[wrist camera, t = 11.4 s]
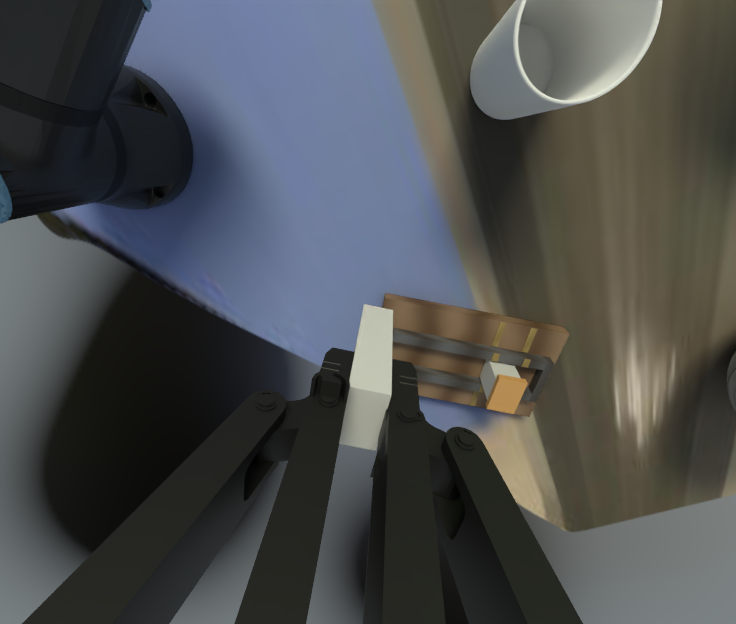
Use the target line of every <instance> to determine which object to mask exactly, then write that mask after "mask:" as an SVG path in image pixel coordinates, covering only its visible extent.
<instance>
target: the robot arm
mask: <svg viewBox="0 0 736 624" xmlns="http://www.w3.org/2000/svg"><path fill="white" fill-rule="evenodd" d="M151 6H152V4H151V1H150V0H0V223H4V222H6V221H8V220H12V219H17V218H22V217H27V216H32V215H37V214H41V213H46V212H51V211H56V210H61V209H65V208H70V207H75V206H80V205H84V204H89V203H94V202H96V203H101V204H106V205H111V206H116V207H121V208H126V209H148V208H152V207H156V206H160V205H163V204H166V203H168V202H170V201H171V200H173V199H174V198H176V197H177V196H178V195H179V194H180V193H181V192H182V190H183V189H184V187H185V186H186V184H187V182H188V179H189V177H190V173H191V169H192V159H193V154H192V144H191V139H190V134H189V131H188V128H187V125H186V123H185V120H184V118H183V116H182V114H181V112H180V110H179V109H178V107H177V105H176V104H175V102H174V101H173V100H172V98H171V97H170V96H169V94H168V93H167V92H166V91H165V90H164V89H163V88H162V87H161V86H160V85H159V84H158V83H157V82H156V81H154V80H153V79H152V78H150V77H149V76H147V75H146V74H144V73H143V72H141V71H139V70H137V69H135V68H132V67H130V66H126V65H124V62H125V60H126V57H127V55H128V53H129V50H130V48H131V45H132V43H133V41H134V38H135V36H136V33H137V31H138V29H139V26H140V24H141V21H142V19H143V17H144V14H145V12H146V11H147V12H150V10H151ZM392 342H393V310H390V309H385V308H380V307H376V306H371V305H366V304H364V308H363V312H362V317H361V322H360V327H359V332H358V337H357V342H356V346H355V351H354V352H352V351H347V350H342V349H337V348H331V349H330V350H329V351H328V352H327V353H326V354H325V357H324V360H323V364H322V367H321V370H320V372H318V373H316V374H315V375H314V376H313V378H312V383H311V390H310V395H309V396H308V397H306V398H305V399H301V400H296V401H286V400H285V398H284V397H283V396H282V395H281V394H279V393H277V392H274V391H270V390H268V391H267V390H266V391H259V392H256V393H254V394H252V395H251V396H249V397H248V398H247V399H246V400H245V401H244V402H243V403H242V404H241V405H240V406H239V407H238V408H237V409H236V410H235V411H234V412H233V413H232V414H231V415H230V416H229V417H228V418H227V419H226V420H225V421H224V422H223V423H222V424H221V425H220V426H219V427H218V428H217V429H216V430H215V431H214V432H213V433H212V434H211V435H210V436H209V437H208V438H207V439H206V440H205V441H204V442H203V443H202V444H201V445H200V446H199V447H198V448H197V449H196V450H195V451H194V452H193V453H192V454H191V455H190V456H189V457H188V458H187V459H186V460H185V461H184V462H183V463H182V464H181V465H180V466H179V467H178V468H177V469H176V470H175V471H174V472H173V473H172V475H170V476H169V477H168V478H167V479H166V480H165V481H164V482H163V483H162V484H161V485H160V486H159V487H158V488H157V489H156V490H155V491H154V492H153V493H152V494H151V496H149V497H148V498H147V499H146V500H145V501H144V503H142V504H141V505H140V506H139V507H138V508H137V509H136V510H135V511H134V512H133V513H132V514H131V515H130V516H129V517H128V518H127V519H126V520H125V521H124V522H123V524H121V525H120V526H119V527H118V528H117V529H116V530H115V531H114V532H113V533H112V534H111V535H110V536H109V537H108V538H107V539H106V540H105V541H104V542H103V543H102V544H101V545H100V546H99V547H98V548H97V549H96V550H95V551H94V552H93V553H92V554H91V555H90V556H89V558H87V559H86V560H85V561H84V562H83V563H82V564H81V565H80V566H79V567H78V568H77V569H76V570H75V571H74V572H73V573H72V574H71V575H70V576H69V578H67V579H66V580H65V582H63V584H61V585H60V586H59V587H58V588H57V589H56V590H55V591H54V593H52V594H51V595H50V596H49V597H48V598H47V599H46V600H45V601H44V602H43V603H42V604H41V605H40V607H38V609H36V610H35V611H34V612H33V613H32V614H31V615H30V616H29V617H28V618H27V619H26V620H25V621H24V622H23V623H22V624H169V623H170V622H171V620H172V619H173V617H174V616H175V614H176V613H177V612H178V610H179V609H180V607H181V605H182V604H183V603H184V601H185V600H186V598H187V597H188V595H189V594H190V592H191V591H192V590H193V588H194V587H195V585H196V584H197V582H198V581H199V579H200V578H201V576H202V575H203V573H204V572H205V571H206V569H207V568H208V566H209V565H210V563H211V562H212V560H213V559H214V557H215V556H216V555H217V553H218V551H219V550H220V549H221V547H222V546H223V544H224V543H225V541H226V540H227V538H228V537H229V536H230V534H231V533H232V531H233V529H234V528H235V527H236V525H237V524H238V522H239V521H240V519H241V518H242V517H243V515H244V514H245V512H246V511H247V509H248V508H249V506H250V505H251V503H252V502H253V501H254V499H255V498H256V496H257V494H258V493H259V492H260V490H261V489H262V487H263V486H264V484H265V483H266V482H267V480H268V479H269V477H270V476H271V474H272V473H273V471H274V470H275V468H276V467H277V465H278V463H279V461H286V460H288V463H287V467H286V470H285V473H284V476H283V479H282V482H281V485H280V488H279V491H278V494H277V497H276V500H275V503H274V506H273V509H272V512H271V515H270V518H269V521H268V525H267V527H266V530H265V533H264V536H263V539H262V542H261V545H260V549H259V551H258V554H257V558H256V560H255V564H254V566H253V569H252V572H251V575H250V579H249V582H248V585H247V588H246V591H245V594H244V597H243V600H242V603H241V606H240V609H239V612H238V615H237V618H236V621H235V624H306V620H307V615H308V609H309V604H310V599H311V593H312V587H313V582H314V577H315V571H316V566H317V561H318V555H319V550H320V544H321V539H322V533H323V528H324V523H325V517H326V511H327V506H328V500H329V495H330V490H331V484H332V479H333V474H334V468H335V462H336V457H337V452H338V446H339V444H344V445H349V446H354V447H359V448H364V449H369V450H374V451H376V448H377V444H378V449H377V456H376V459H375V463H374V466H373V469H372V473H371V476H370V477H373V489H372V503H371V517H370V531H369V545H368V560H367V574H366V587H365V601H364V616H363V624H445V614H444V604H443V594H442V584H441V574H440V563H439V553H438V543H437V533H436V524H437V527H438V530H439V533H440V536H441V539H442V542H443V545H444V548H445V551H446V554H447V557H448V560H449V564H450V566H451V569H452V573H453V575H454V579H455V582H456V585H457V588H458V591H459V594H460V597H461V600H462V603H463V606H464V609H465V612H466V615H467V618H468V621H469V624H583V623H582V621H581V620H580V618H579V616H578V614H577V612H576V611H575V609H574V607H573V605H572V603H571V601H570V599H569V598H568V596H567V594H566V592H565V590H564V589H563V587H562V585H561V583H560V582H559V580H558V578H557V576H556V574H555V572H554V570H553V569H552V567H551V565H550V563H549V561H548V560H547V558H546V556H545V554H544V552H543V551H542V549H541V547H540V545H539V543H538V541H537V540H536V538H535V536H534V534H533V532H532V531H531V529H530V527H529V525H528V523H527V522H526V520H525V518H524V516H523V514H522V512H521V511H520V509H519V507H518V505H517V503H516V502H515V500H514V498H513V496H512V494H511V493H510V491H509V489H508V487H507V485H506V484H505V482H504V480H503V478H502V476H501V474H500V473H499V471H498V469H497V467H496V465H495V464H494V462H493V460H492V458H491V456H490V455H489V453H488V451H487V449H486V447H485V445H484V444H483V442H482V441H481V439H480V438H479V437H478V436H477V435H476V434H475V433H473V432H472V431H470V430H468V429H466V428H462V427H453V428H451V429H449V430H448V431H447V433H446V432H444V431H442V430H440V429H437V428H435V427H434V426H432V425H430V424H429V423H428V422H427V421H426V420H425V417H424V414H423V413H422V412H421V411H420V407H419V395H418V386H417V385H418V383H417V372H416V369H415V368H414V366H413V365H412V363H411V362H406V361H401V360H396V359H392ZM435 521H436V523H435Z"/></svg>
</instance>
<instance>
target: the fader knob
mask: <svg viewBox="0 0 736 624" xmlns="http://www.w3.org/2000/svg"><path fill="white" fill-rule="evenodd" d="M480 380H481V383H482V386H483V389H484V392H485V395H486V398H487V402H486V408H487V409H490V410H495V411H500V412H505V413H511V414H514V413H515V410H516V408H517V406H518V404H519V402H520V400H521V397H522V395H523V393H524V391H525V389H526V387H527V384H528V383H527V381H526V379H521V378H520V376H519V374H518V372H517V370H516V368H515V366H514V365H513V364H508V363H502V362H495V361H491V360H487V359H486V361H485V363H484V366H483V369H482V371H481V374H480Z"/></svg>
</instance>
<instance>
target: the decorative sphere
mask: <svg viewBox="0 0 736 624" xmlns="http://www.w3.org/2000/svg"><path fill="white" fill-rule="evenodd" d="M727 390H728V396H729V399H730V402H731V405H732V407H733V409H734V411H735V413H736V351H735V352H734V354H733V356H732V358H731V361H730V364H729V367H728V371H727Z"/></svg>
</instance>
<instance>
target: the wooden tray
mask: <svg viewBox="0 0 736 624" xmlns="http://www.w3.org/2000/svg"><path fill="white" fill-rule="evenodd" d="M382 308H385V309H390V310H393V342H392V359H396V360H401V361H406V362H411V363H412V365H413V366H414V368H415V369H416V372H417V383H418V385H417V386H418V395H419V396H424V397H429V398H435V399H440V400H445V401H450V402H455V403H460V404H466V405H471V406H476V407H481V408H486V402H487V398H486V395H485V392H484V389H483V386H482V383H481V380H480V374H481V371H482V369H483V366H484V363H485V361H486V359H487V360H491V361H495V362H502V363H508V364H513V365H514V366H515V368H516V370H517V372H518V374H519V376H520V378H521V379H526V381H527V383H528V384H527V387H526V389H525V391H524V393H523V395H522V397H521V400H520V402H519V404H518V406H517V408H516V410H515V413H514V414H517V415H523V416H528V417H529V416H530V414H531V412H532V410H533V408H534V406H535V404H536V402H537V400H538V398H539V396H540V394H541V392H542V390H543V388H544V385H545V383H546V381H547V379H548V377H549V375H550V373H551V371H552V369H553V367H554V365H555V363H556V361H557V359H558V357H559V355H560V353H561V351H562V349H563V347H564V344H565V342H566V340H567V338H568V336H569V333H568V332H567V331H566V330H565V329H564V327H561V326H555V325H550V324H545V323H540V322H534V321H529V320H524V319H519V318H513V317H508V316H503V315H498V314H492V313H487V312H482V311H477V310H471V309H466V308H461V307H456V306H450V305H445V304H440V303H435V302H429V301H424V300H419V299H414V298H408V297H403V296H398V295H393V294H387V293H385V297H384V302H383V307H382ZM486 409H487V408H486Z"/></svg>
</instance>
